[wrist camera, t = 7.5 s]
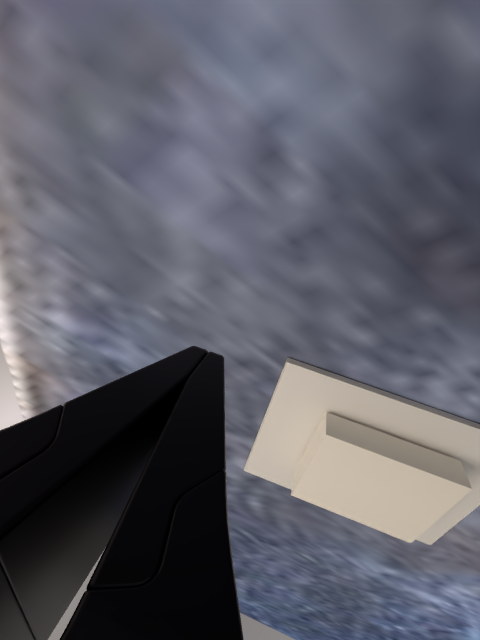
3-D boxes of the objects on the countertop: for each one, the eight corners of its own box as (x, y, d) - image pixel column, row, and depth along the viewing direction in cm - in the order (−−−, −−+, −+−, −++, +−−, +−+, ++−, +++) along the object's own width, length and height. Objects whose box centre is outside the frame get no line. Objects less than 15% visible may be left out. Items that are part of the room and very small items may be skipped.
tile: (326, 409, 23) (458, 457, 22) (294, 468, 27) (404, 512, 26) (325, 434, 21) (472, 489, 20) (290, 494, 25) (410, 543, 24)
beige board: (539, 444, 20) (544, 452, 20) (428, 538, 28) (430, 545, 27) (287, 357, 23) (286, 361, 22) (245, 465, 30) (243, 470, 29)
